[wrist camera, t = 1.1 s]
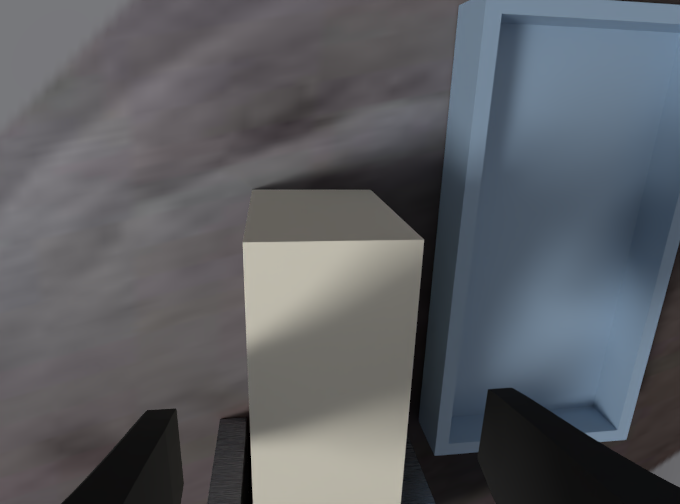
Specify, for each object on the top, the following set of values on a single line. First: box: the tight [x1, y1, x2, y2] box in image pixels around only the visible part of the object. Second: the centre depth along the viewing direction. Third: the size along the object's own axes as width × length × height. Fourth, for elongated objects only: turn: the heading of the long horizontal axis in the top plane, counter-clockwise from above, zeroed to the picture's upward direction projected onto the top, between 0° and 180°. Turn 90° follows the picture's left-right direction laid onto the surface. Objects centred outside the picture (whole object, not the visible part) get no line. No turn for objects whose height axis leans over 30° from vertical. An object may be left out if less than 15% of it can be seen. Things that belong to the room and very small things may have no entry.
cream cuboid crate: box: [243, 190, 424, 504], centre depth 15 cm, size 4×12×6 cm, turn 178°
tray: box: [418, 0, 680, 456], centre depth 17 cm, size 8×16×2 cm, turn 178°
